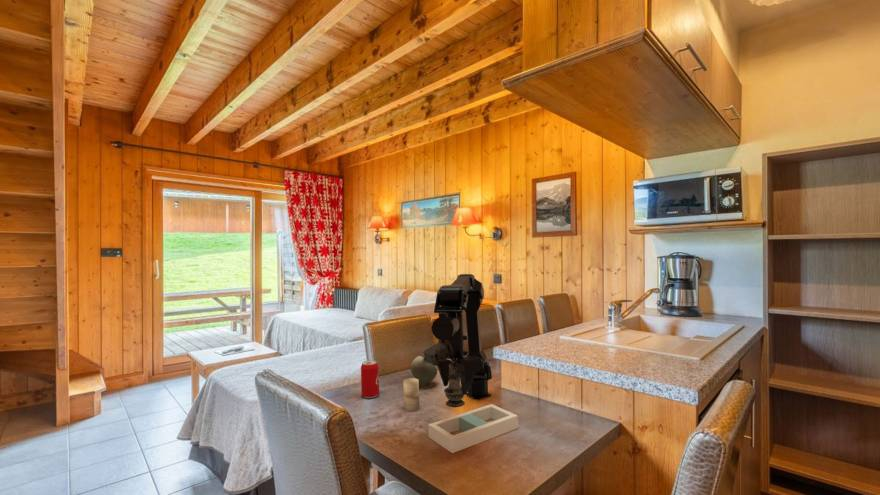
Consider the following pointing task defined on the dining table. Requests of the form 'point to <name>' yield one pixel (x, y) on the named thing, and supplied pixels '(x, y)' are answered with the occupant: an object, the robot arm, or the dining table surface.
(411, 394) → the wooden peg
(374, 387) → the beverage can
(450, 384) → the salt shaker
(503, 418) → the housing
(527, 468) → the dining table surface
